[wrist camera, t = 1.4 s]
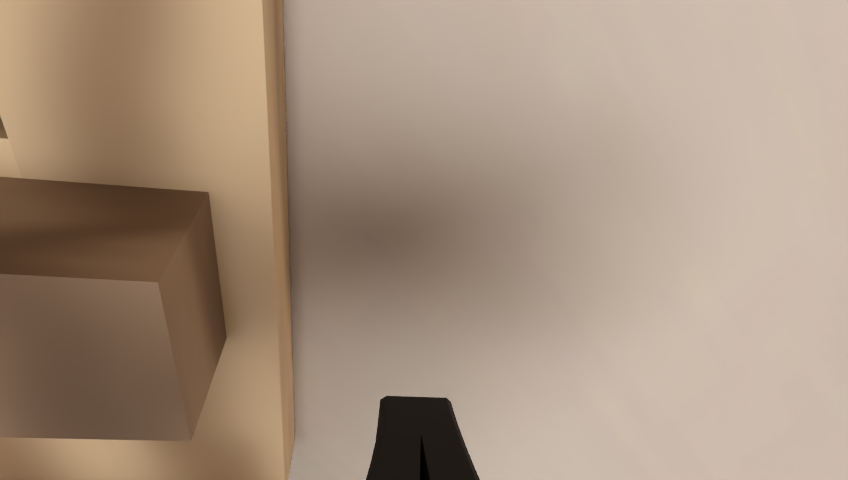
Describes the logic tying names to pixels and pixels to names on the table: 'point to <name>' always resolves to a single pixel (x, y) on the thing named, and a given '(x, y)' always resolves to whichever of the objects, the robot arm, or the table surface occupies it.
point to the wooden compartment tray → (169, 169)
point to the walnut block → (106, 310)
